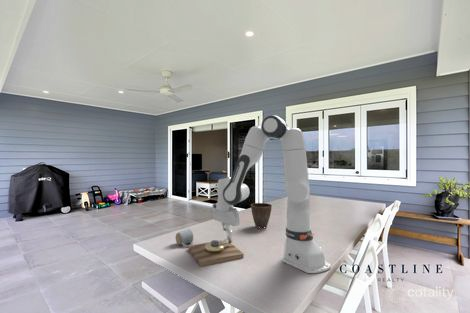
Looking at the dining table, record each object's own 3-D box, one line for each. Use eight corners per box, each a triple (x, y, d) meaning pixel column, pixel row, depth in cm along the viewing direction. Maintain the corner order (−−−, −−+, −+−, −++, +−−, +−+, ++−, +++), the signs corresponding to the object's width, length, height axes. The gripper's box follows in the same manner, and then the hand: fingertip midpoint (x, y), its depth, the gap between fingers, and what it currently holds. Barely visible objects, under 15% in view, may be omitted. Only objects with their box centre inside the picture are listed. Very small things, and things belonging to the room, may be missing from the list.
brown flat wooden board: (243, 257, 111) (243, 252, 111) (200, 266, 102) (200, 261, 102) (226, 243, 131) (226, 239, 131) (188, 249, 122) (188, 245, 122)
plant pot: (271, 224, 169) (271, 203, 169) (272, 230, 154) (272, 207, 154) (251, 224, 170) (251, 202, 171) (250, 230, 156) (250, 206, 156)
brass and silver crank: (237, 247, 118) (237, 232, 118) (210, 254, 110) (210, 238, 110) (227, 241, 126) (227, 228, 127) (201, 247, 118) (201, 232, 118)
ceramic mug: (174, 243, 130) (174, 230, 131) (187, 240, 136) (187, 227, 136) (183, 249, 122) (183, 235, 122) (196, 245, 128) (196, 232, 128)
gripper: (242, 207, 121) (242, 233, 121) (219, 203, 137) (219, 226, 136) (233, 209, 117) (233, 236, 117) (210, 204, 133) (211, 228, 132)
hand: (225, 230), depth 127 cm, fingers closed
